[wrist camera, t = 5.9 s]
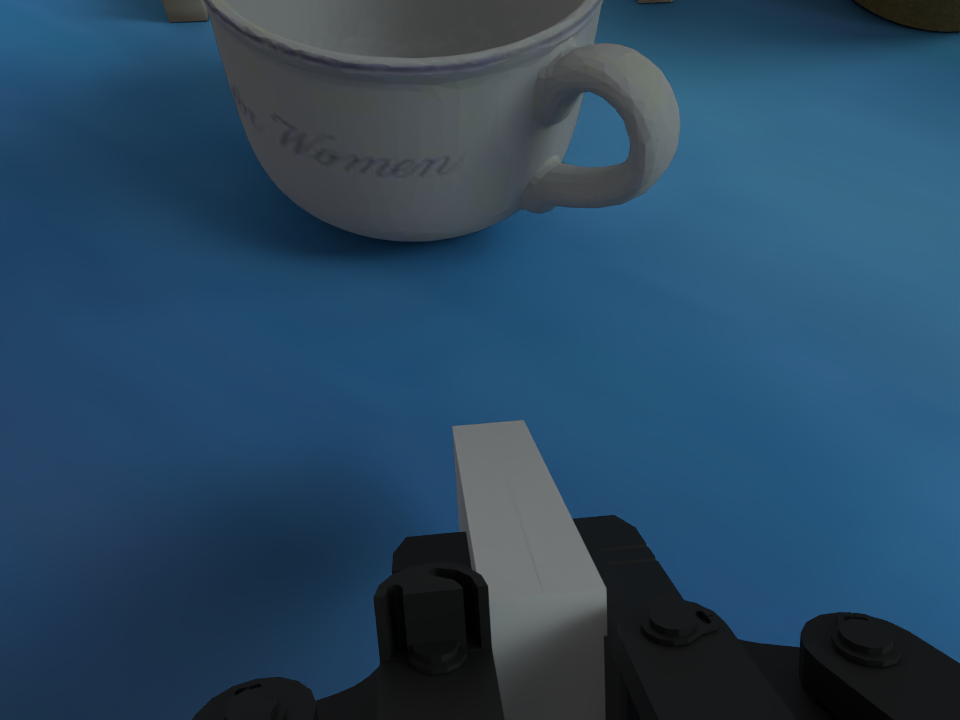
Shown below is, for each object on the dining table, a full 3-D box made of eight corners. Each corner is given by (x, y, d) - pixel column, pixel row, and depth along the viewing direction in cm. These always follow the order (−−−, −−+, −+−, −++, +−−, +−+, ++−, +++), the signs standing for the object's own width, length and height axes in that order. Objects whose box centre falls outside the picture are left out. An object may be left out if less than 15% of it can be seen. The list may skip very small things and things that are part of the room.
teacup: (208, 147, 25) (114, -95, 18) (452, 37, 29) (449, -198, 22) (442, 427, 20) (431, 227, 13) (708, 246, 23) (809, 17, 17)
